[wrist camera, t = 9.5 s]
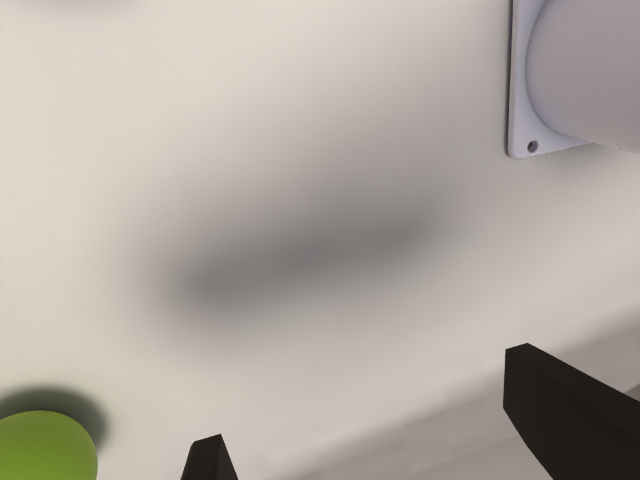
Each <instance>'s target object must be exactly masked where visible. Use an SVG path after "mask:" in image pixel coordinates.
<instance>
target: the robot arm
mask: <svg viewBox="0 0 640 480" xmlns="http://www.w3.org/2000/svg"><path fill="white" fill-rule="evenodd" d="M531 141H532V146H531V148H530V149H529V150H528V149H527V147H528V144H529V143H530V142H531ZM590 143H598V144H602V145H606V146H610V147H614V148H618V149H622V150H626V151H630V152H634V153H638V154H640V0H513V22H512V48H511V75H510V101H509V128H508V154H509V155H510V157H512V158H515V159H518V160H519V159H525V158H530V157H534V156H538V155H543V154H547V153H551V152H555V151H560V150H564V149H568V148H572V147H577V146H581V145H585V144H590ZM503 408H504V410H505V412H506V413H507V415H508V417H509V418H510V420H511V422H512V423H513V425H514V427H515V428H516V430H517V431H518V433H519V434H520V436H521V437H522V439H523V441H524V442H525V444H526V445H527V447H528V448H529V449H530V450H531V452H532V453H533V454H534V456H535V457H536V458H537V460H538V461H539V462H540V463H541V465H542V466H543V467H544V468H545V469H546V471H547V472H548V474H549V475H550V476H551V477H552V478H553V480H640V402H639V401H637V400H635V399H633V398H631V397H629V396H627V395H625V394H623V393H621V392H619V391H617V390H616V389H614V388H612V387H610V386H608V385H606V384H604V383H602V382H600V381H598V380H596V379H594V378H593V377H591V376H589V375H587V374H585V373H583V372H581V371H579V370H578V369H576V368H574V367H572V366H570V365H568V364H566V363H565V362H563V361H561V360H559V359H557V358H555V357H554V356H552V355H550V354H548V353H546V352H544V351H542V350H540V349H539V348H537V347H535V346H533V345H531V344H529V343H525V344H522V345H519V346H515V347H512V348H509V349H506V352H505V374H504V396H503ZM181 480H238V478H237V475H236V472H235V470H234V467H233V464H232V462H231V459H230V457H229V454H228V451H227V449H226V446H225V443H224V441H223V438H222V435H221V434H218V435H215V436H211V437H208V438H205V439H201V440H198V441H194V443H193V444H192V446H191V448H190V451H189V454H188V458H187V461H186V464H185V467H184V471H183V474H182V477H181Z"/></svg>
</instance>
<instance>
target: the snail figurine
mask: <svg viewBox="0 0 640 480" xmlns="http://www.w3.org/2000/svg"><path fill="white" fill-rule="evenodd" d="M97 468H98V462H97V453H96V449H95V446H94V443H93V441H92V439H91V437H90V435H89V434H88V432H87V431H86V430H85V429H84V427H83V426H82V425H80V424H79V423H78V422H77V421H75V420H74V419H72V418H70V417H68V416H66V415H64V414H61V413H57V412H52V411H43V410H37V411H27V412H22V413H17V414H14V415H11V416H8V417H5V418H3V419H1V420H0V480H96V477H97Z"/></svg>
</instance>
